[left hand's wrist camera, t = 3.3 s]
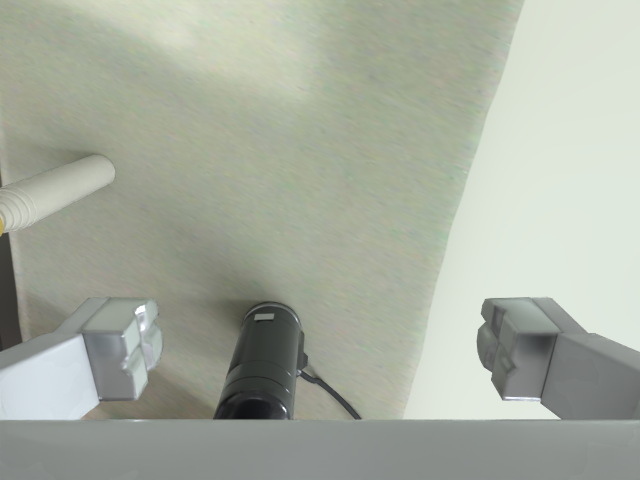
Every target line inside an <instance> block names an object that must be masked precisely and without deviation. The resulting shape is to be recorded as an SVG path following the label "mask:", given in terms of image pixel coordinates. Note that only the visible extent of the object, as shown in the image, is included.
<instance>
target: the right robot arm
mask: <svg viewBox="0 0 640 480" xmlns="http://www.w3.org/2000/svg"><path fill="white" fill-rule="evenodd" d="M303 348H304V333H303V332H302V331H301V324H300V321H299V318H298V316H297V315H296V314H295V312H294V311H293V310H291V309H290V308H289V307H287V306H285V305H283V304H280V303H275V302H266V303H261V304H258V305H256V306H254V307H253V308H251V309H250V310H249V311H248V312H247V314H246V315H245V317H244V320H243V323H242V329H241V332H240V335H239V338H238V341H237V344H236V348H235V351H234V354H233V357H232V361H231V364H230V367H229V370H228V374H227V377H226V380H225V384H224V387H223V390H222V393H221V397H220V400H219V403H218V406H217V409H216V412H215V415H214V417H213V420H293V415H294V402H295V388H296V378H297V377H298V376H299V375H300V376H301V377H302V378H304V379H305V380H307V381H309V382H311V383H317V384H318V385H320V386H321V387H323V388H324V389H325V390H327V391H328V392H329V393H330V394H331V395H332V396H333V397H334V398H336V399H337V400H338V401H339V402H340V403H341V404H342V405H343V406H344V407H345V409H346V410H347V411H348V412H349V413H350V414H351V415H352V416H353V417H354V418H355V420H362V419H361V418H360V417H359V416H358V414H357V413H356V412H355V411H354V410H353V409H352V408H351V407H350V406H349V405H348V404H347V403H346V401H345V400H344V399H343V398H342V397H341V396H340V395H338V394H337V393H336V392H335V391H334V390H333V389H332V388H331V387H329V386H328V385H327V384H326V383H324V382H323V381H322V380H320V379H318V378H312V377H311V376H309V375H308V374H306V373H305V372H303V371H302V369H303V368H305V367H306V366H307V361H308V356H307V355H306V354H305V353H304V352H303Z"/></svg>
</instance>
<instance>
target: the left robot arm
mask: <svg viewBox="0 0 640 480" xmlns="http://www.w3.org/2000/svg"><path fill="white" fill-rule="evenodd" d="M158 315H159V311H158V306H157V302H156V301H155V300H154V299H153V298H121V297H114V298H112V297H93V298H88V299H87V300H86V301H85V302H84V303H83V304H82V305H81V306H80V307H79V308H78V309H77V310H76V311H75V312H74V313H72V314H71V315H70V316H69V317H68V318H67V319H66V320H65V321H64V322H63V323H62V324H61V325H60V326H59V327H58V328H57V329H56V330H55V331H54V332H53V333H44V334H42V335H40V336H37V337H35V338H33V339H30V340H28V341H25V342H23V343H21V344H18V345H16V346H13V347H11V348H9V349H6V350H4V351H2V352H0V480H640V352H638V351H636V350H634V349H631V348H629V347H626V346H624V345H622V344H619V343H617V342H615V341H612V340H610V339H607V338H605V337H603V336H600V335H598V334H596V333H587V332H586V331H585V330H584V329H583V328H582V327H581V326H580V325H579V324H578V323H577V322H576V321H575V320H574V319H573V318H572V317H571V316H570V315H569V314H568V313H567V312H565V311H564V310H563V309H562V308H561V307H560V306H559V305H558V304H557V303H556V302H555V301H554V300H553V299H552V298H549V297H532V298H530V297H525V298H490V299H485V301H484V303H483V305H482V311H481V315H482V316H483V318H484V320H485V321H486V322H485V323H484V324H483V325H482V326H481V327H480V328H479V329H478V335H477V350H478V355H479V358H480V361H481V363H482V364H483V366H484V368H486V369H488V370H489V371H491V372H492V378H491V381H492V382H493V384H494V386H495V388H496V390H497V391H498V393H499V395H500V396H501V398H502V400H507V401H541V402H540V403H541V404H542V405H543V406H545V407H546V408H547V409H549V410H550V411H551V412H553V413H554V414H555V415H557V416H558V417H559V418H561V419H562V420H78V419H80V418H81V417H82V416H84V415H85V414H86V413H87V412H89V411H90V410H91V409H93V408H94V407H95V406H97V405H98V404H99V403H100V402H99V401H132V400H138V398H139V397H140V395H141V393H142V391H143V390H144V388H145V386H146V384H147V383H148V381H149V378H148V372H149V371H151V370H152V369H154V368H156V366H157V364H158V363H159V361H160V359H161V354H162V350H163V334H162V329H161V328H160V327H159V326H158V325H157V324H156V323H155V322H154V321H155V320H156V318H157V316H158Z"/></svg>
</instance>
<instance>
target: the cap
mask: <svg viewBox="0 0 640 480" xmlns="http://www.w3.org/2000/svg"><path fill="white" fill-rule="evenodd" d="M2 233H3V222H2V219H1V217H0V236H1V235H2Z"/></svg>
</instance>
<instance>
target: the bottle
mask: <svg viewBox="0 0 640 480" xmlns="http://www.w3.org/2000/svg"><path fill="white" fill-rule="evenodd" d="M114 178H115V168H114V166H113V164H112V163H111V161H110V160H108V159H107V158H106V157H104V156H102V155H90V156H88V157H85V158H82V159H79V160H76V161H74V162H71V163H68V164H65V165H62V166H59V167H57V168H54V169H51V170H48V171H45V172H43V173H40V174H37V175H34V176H31V177H29V178H26V179H23V180H20V181H17V182H15V183H12V184H9V185H6V186H3V187H0V217H1V219H2V222H3V233H6V232H11V231H15V230H21V229H23V228H26V227H29V226H31V225H33V224H35V223H36V222H38V221H40V220H42V219H44V218H46V217H48V216H50V215H52V214H54V213H56V212H57V211H59V210H61V209H63V208H65V207H67V206H69V205H71V204H73V203H75V202H77V201H78V200H80V199H82V198H84V197H86V196H88V195H90V194H92V193H94V192H96V191H97V190H99V189H101V188H103V187H105V186H107V185H109V184H110V183H112V182H113V180H114Z"/></svg>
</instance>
